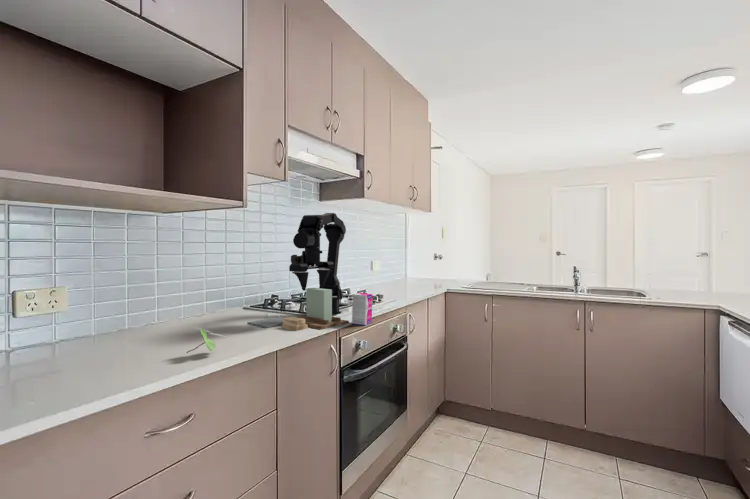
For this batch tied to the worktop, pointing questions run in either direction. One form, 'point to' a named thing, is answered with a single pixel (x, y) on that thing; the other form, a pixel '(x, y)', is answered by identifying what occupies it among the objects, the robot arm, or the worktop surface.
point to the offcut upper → (294, 321)
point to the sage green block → (319, 303)
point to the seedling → (206, 341)
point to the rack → (322, 322)
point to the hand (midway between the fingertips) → (312, 289)
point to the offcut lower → (295, 327)
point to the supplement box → (362, 309)
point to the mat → (268, 322)
